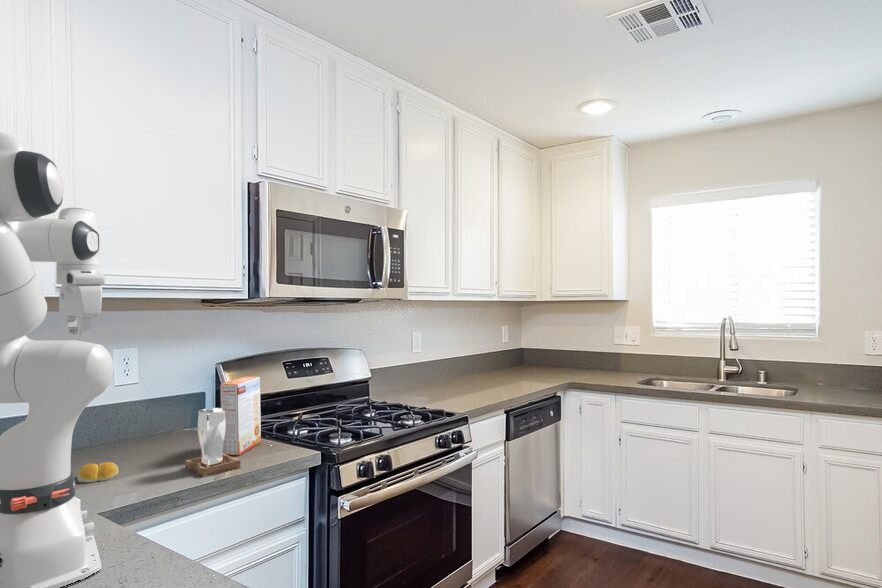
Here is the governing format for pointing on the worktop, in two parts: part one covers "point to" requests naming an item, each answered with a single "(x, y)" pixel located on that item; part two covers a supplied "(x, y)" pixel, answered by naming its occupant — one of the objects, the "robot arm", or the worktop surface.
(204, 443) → the beer glass
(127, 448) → the worktop surface
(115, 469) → the bread roll
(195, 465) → the tray
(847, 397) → the worktop surface
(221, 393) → the cracker box
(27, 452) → the robot arm
